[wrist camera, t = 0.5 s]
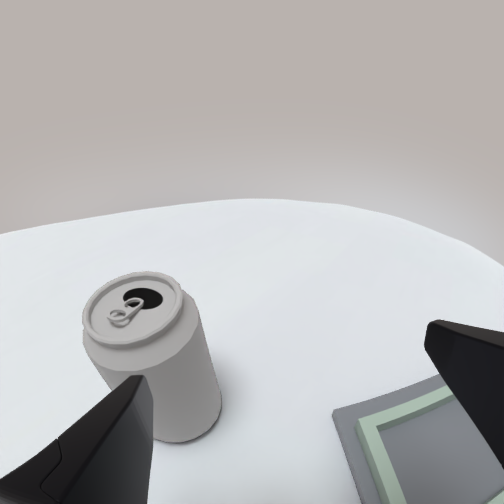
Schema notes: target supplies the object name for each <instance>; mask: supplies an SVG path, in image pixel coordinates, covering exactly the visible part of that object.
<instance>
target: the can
mask: <svg viewBox="0 0 504 504" xmlns="http://www.w3.org/2000/svg"><path fill="white" fill-rule="evenodd" d="M82 324H83V326H84V330H83V345H84V347H85V350H86V352H87V354H88V356H89V358H90V359H91V361H92V362H93V364H94V366H95V367H96V369H97V370H98V372H99V373H100V375H101V376H102V378H103V379H104V380H105V382H106V383H107V385H108V386H109V388H110V389H111V390H112V391H113V390H114V389H115V388H116V387H118V386H119V385H120V384H121V383H122V382H123V381H124V380H126V379H127V378H128V377H129V376H131V375H144V376H145V377H146V379H147V382H148V385H149V388H150V390H151V393H152V396H153V402H154V407H153V438H155V439H158V440H161V441H164V442H184V441H188V440H191V439H195V438H197V437H198V436H200V435H201V434H203V433H205V432H206V431H208V430H209V429H210V427H211V426H212V425H213V424H214V422H215V421H216V420H217V418H218V415H219V412H220V409H221V393H220V389H219V386H218V382H217V379H216V375H215V372H214V368H213V365H212V361H211V357H210V354H209V350H208V346H207V342H206V339H205V335H204V331H203V327H202V323H201V319H200V315H199V311H198V308H197V306H196V304H195V301H194V299H193V298H192V297H191V296H190V295H189V294H187V293H186V292H185V291H184V290H182V289H181V287H180V284H179V283H178V282H176V281H175V280H174V279H173V278H172V277H170V276H167V275H165V274H162V273H159V272H149V271H144V272H134V273H130V274H127V275H123V276H120V277H118V278H116V279H114V280H112V281H110V282H107V283H106V284H105V285H103V286H102V287H101V288H99V289H98V290H97V291H96V292H95V293H94V294H93V295H92V296H91V297H90V299H89V300H88V301H87V303H86V306H85V308H84V310H83V315H82Z"/></svg>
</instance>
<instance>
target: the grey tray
mask: <svg viewBox="0 0 504 504" xmlns="http://www.w3.org/2000/svg"><path fill="white" fill-rule="evenodd" d="M332 417H333V420H334V422H335V425H336V428H337V431H338V434H339V437H340V440H341V443H342V446H343V448H344V451H345V454H346V457H347V460H348V463H349V466H350V469H351V472H352V475H353V478H354V481H355V484H356V487H357V490H358V493H359V496H360V499H361V502H362V504H504V470H503V468H502V466H501V464H500V463H499V461H498V459H497V458H496V456H495V455H494V453H493V451H492V450H491V448H490V447H489V445H488V444H487V442H486V441H485V439H484V438H483V436H482V435H481V433H480V432H479V430H478V429H477V427H476V426H475V424H474V423H473V421H472V420H471V418H470V417H469V415H468V414H467V413H466V411H465V410H464V408H463V407H462V405H461V404H460V403H459V401H458V400H457V398H456V397H455V396H454V394H453V393H452V392H451V390H450V389H449V387H448V386H447V385H446V383H445V382H444V380H443V379H442V377H441V375H440V374H438V375H435V376H433V377H431V378H428V379H426V380H423V381H421V382H418V383H416V384H413V385H410V386H408V387H405V388H402V389H400V390H397V391H394V392H391V393H388V394H385V395H382V396H379V397H376V398H373V399H370V400H367V401H363V402H360V403H357V404H353V405H350V406H346V407H342V408H339V409H335V410H334V411H333V414H332Z"/></svg>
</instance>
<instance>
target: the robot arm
mask: <svg viewBox="0 0 504 504" xmlns="http://www.w3.org/2000/svg"><path fill="white" fill-rule="evenodd" d="M424 347H425V350H426V352H427V354H428V355H429V357H430V358H431V360H432V362H433V363H434V365H435V367H436V368H437V370H438V372H439V374H440V375H441V377H442V379H443V380H444V382H445V383H446V385H447V386H448V387H449V389H450V390H451V392H452V393H453V394H454V396H455V397H456V398H457V400H458V401H459V403H460V404H461V405H462V407H463V408H464V410H465V411H466V413H467V414H468V415H469V417H470V418H471V420H472V421H473V423H474V424H475V426H476V427H477V429H478V430H479V432H480V433H481V435H482V436H483V438H484V439H485V441H486V442H487V444H488V445H489V447H490V448H491V450H492V451H493V453H494V455H495V456H496V458H497V459H498V461H499V463H500V464H501V466H502V468H503V470H504V332H499V331H494V330H489V329H484V328H479V327H474V326H469V325H464V324H459V323H454V322H449V321H444V320H435V321H432V322H430V323H429V324H428V326H427V331H426V336H425V341H424ZM153 407H154V402H153V396H152V393H151V390H150V388H149V385H148V382H147V379H146V377H145V376H144V375H131V376H129V377H128V378H127V379H126V380H124V381H123V382H122V383H121V384H120V385H119V386H118V387H116V388H115V389H114V390H113V391H112V392H111V393H109V394H108V395H107V396H106V397H105V398H104V399H102V400H101V401H100V402H99V403H98V404H97V405H95V406H94V407H93V408H92V409H91V410H90V411H88V412H87V413H86V414H85V415H84V416H82V417H81V418H80V419H79V420H78V421H77V422H75V423H74V424H73V425H72V426H71V427H70V428H68V429H67V430H66V431H65V432H64V433H62V434H61V435H60V436H59V437H58V439H55V440H54V441H53V442H52V443H50V444H49V445H48V446H47V447H46V448H44V449H43V450H42V451H40V452H39V453H38V454H37V455H35V456H34V457H32V458H31V459H30V460H28V461H27V462H25V463H24V464H22V465H21V466H19V467H18V468H16V469H15V470H13V471H12V472H10V473H9V474H7V475H6V476H4V477H3V478H1V479H0V504H147V499H148V488H149V478H150V469H151V460H152V452H153Z"/></svg>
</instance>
